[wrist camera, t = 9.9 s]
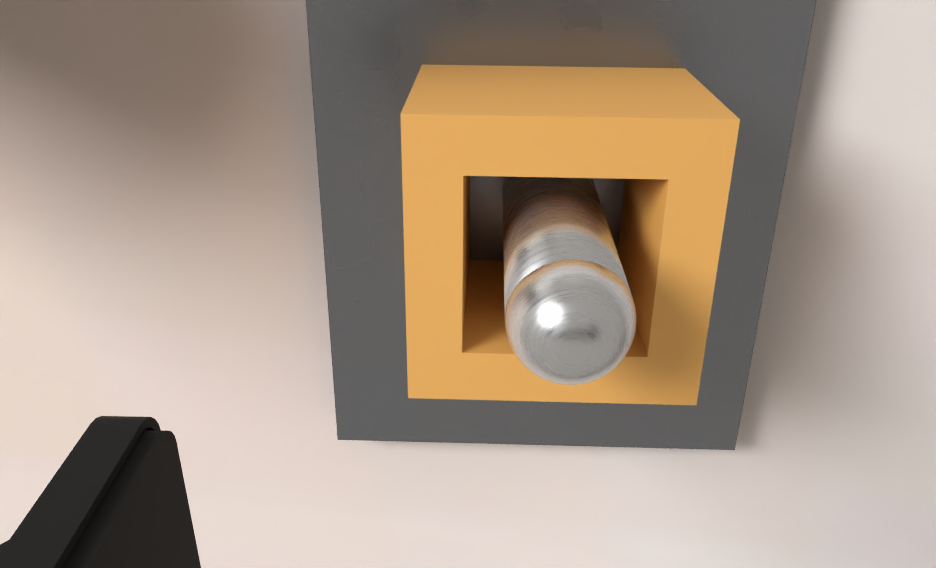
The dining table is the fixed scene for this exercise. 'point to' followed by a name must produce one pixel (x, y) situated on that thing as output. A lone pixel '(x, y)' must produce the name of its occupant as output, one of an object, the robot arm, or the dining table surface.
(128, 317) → the dining table surface
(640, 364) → the orange hollow square block
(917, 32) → the dining table surface
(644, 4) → the keeper
